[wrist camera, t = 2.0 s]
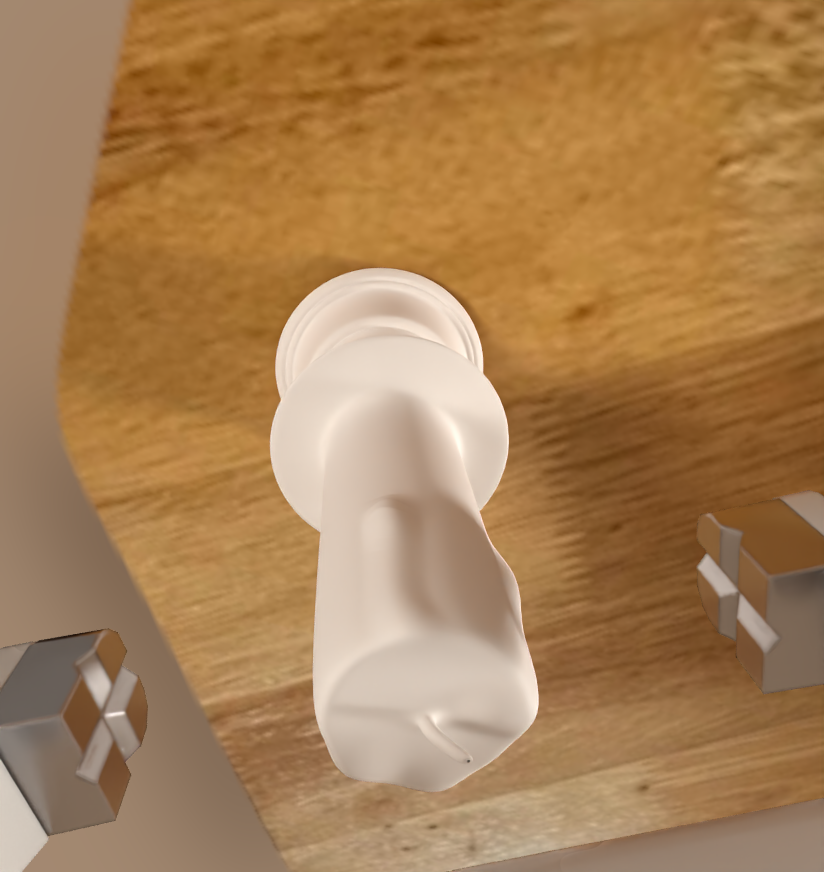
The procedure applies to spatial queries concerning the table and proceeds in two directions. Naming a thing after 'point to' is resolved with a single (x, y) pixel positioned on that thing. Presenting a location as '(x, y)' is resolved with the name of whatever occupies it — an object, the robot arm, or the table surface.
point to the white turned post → (401, 530)
